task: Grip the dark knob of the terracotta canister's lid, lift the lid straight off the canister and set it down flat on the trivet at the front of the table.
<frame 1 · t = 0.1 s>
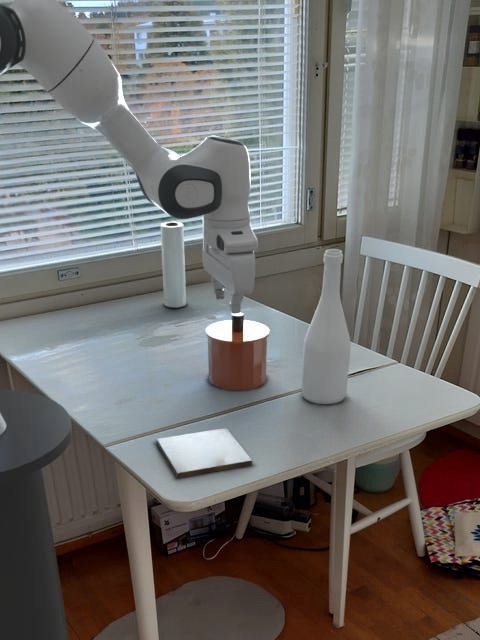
hand: (226, 305, 155), 20 cm above the table, tool pointing down, fingers open, 8 cm apart
trivet: (203, 454, 144), on the table
wine bottle: (323, 397, 166), on the table
canister lid: (237, 332, 168), point 10 cm above the table, touching canister
paper towel roll: (176, 305, 217), on the table
canister: (237, 378, 174), on the table
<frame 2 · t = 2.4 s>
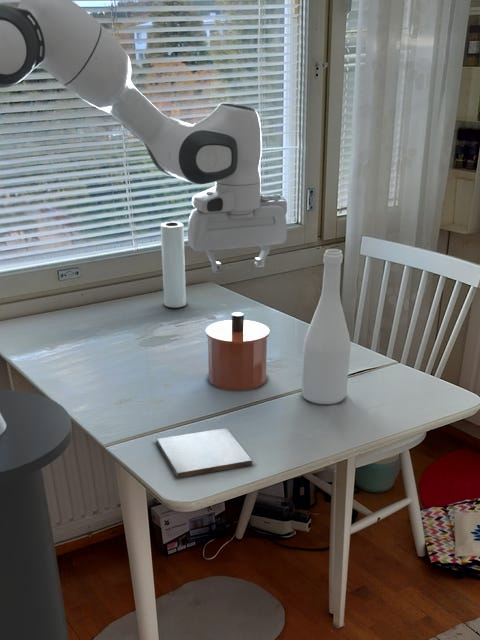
hand: (238, 269, 160), 24 cm above the table, tool pointing down, fingers open, 8 cm apart
nothing on the table moved.
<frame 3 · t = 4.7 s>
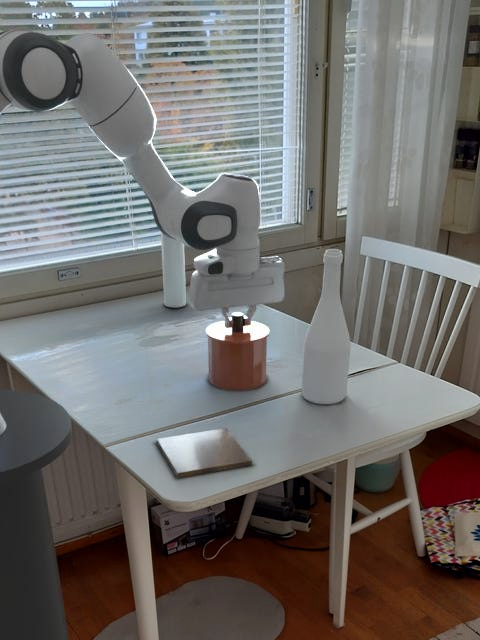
hand: (237, 326, 167), 12 cm above the table, tool pointing down, fingers closed on canister lid, 2 cm apart
canister lid: (237, 332, 168), point 11 cm above the table, touching canister, gripper
everything else where it was.
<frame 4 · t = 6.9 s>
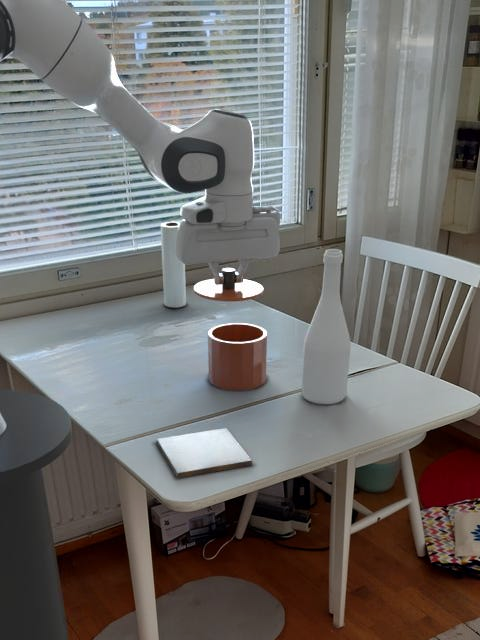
hand: (228, 283, 153), 24 cm above the table, tool pointing down, fingers closed on canister lid, 2 cm apart
canister lid: (228, 290, 154), point 22 cm above the table, touching gripper
everything else where it was.
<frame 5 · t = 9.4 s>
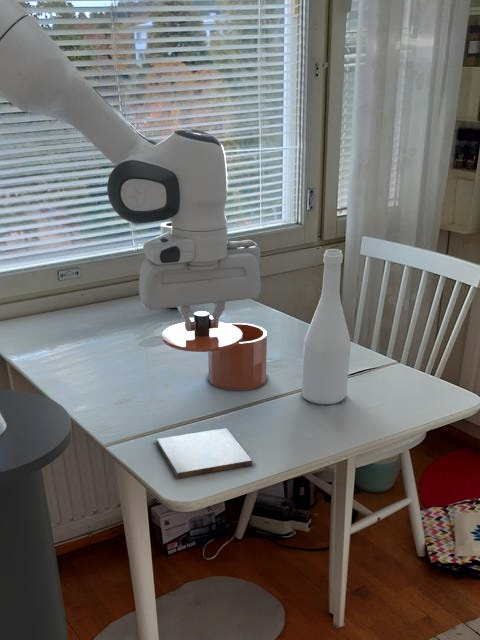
hand: (201, 328, 132), 23 cm above the table, tool pointing down, fingers closed on canister lid, 2 cm apart
canister lid: (202, 337, 133), point 22 cm above the table, touching gripper
everything else where it was.
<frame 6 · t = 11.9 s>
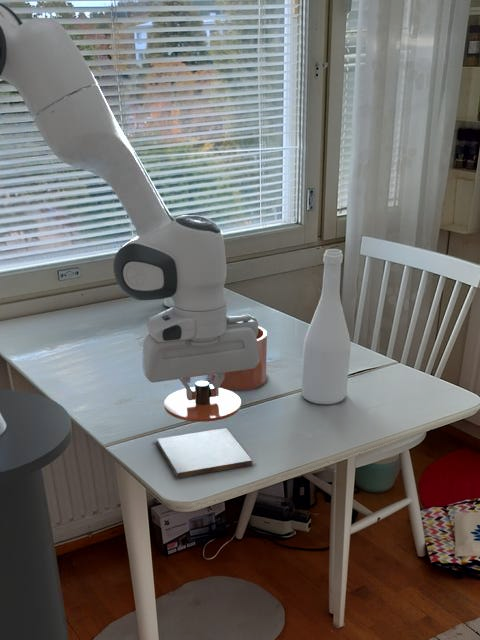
hand: (202, 397, 138), 11 cm above the table, tool pointing down, fingers closed on canister lid, 2 cm apart
canister lid: (202, 404, 139), point 10 cm above the table, touching gripper
everything else where it was.
when the fingers open (3 cm above the table, at t = 14.0 s): canister lid stays where it is, resting on trivet.
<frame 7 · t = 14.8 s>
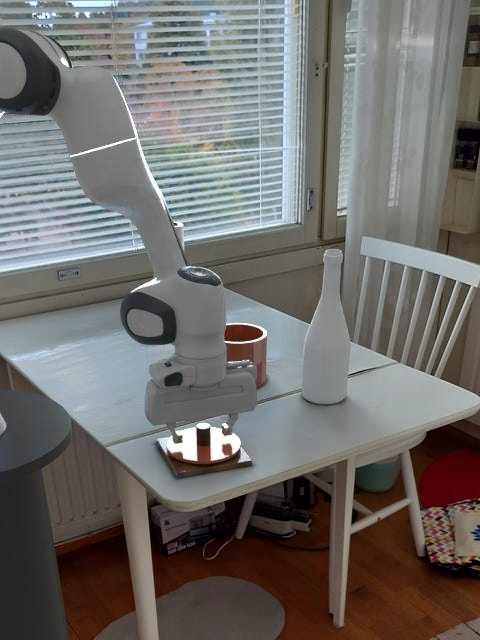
hand: (202, 438, 142), 3 cm above the table, tool pointing down, fingers open, 8 cm apart
canister lid: (203, 446, 143), point 2 cm above the table, touching trivet
everything else where it was.
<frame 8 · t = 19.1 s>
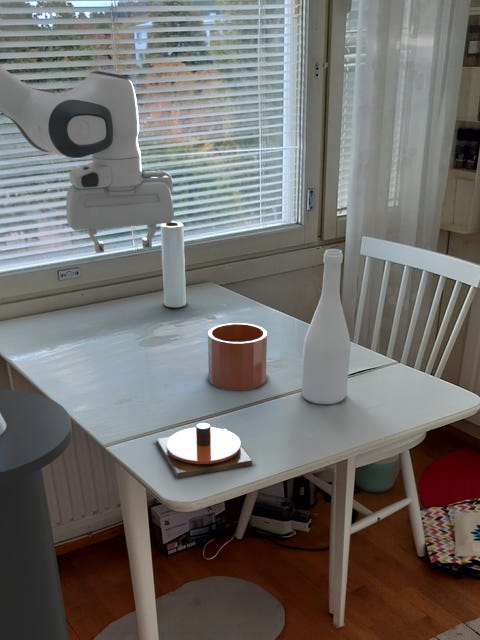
hand: (123, 250, 152), 29 cm above the table, tool pointing down, fingers open, 8 cm apart
nothing on the table moved.
at the end: canister lid inside the target area on the trivet (0.1 cm from its centre), point 1.6 cm above the trivet's base; canister lid tilted 0° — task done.
